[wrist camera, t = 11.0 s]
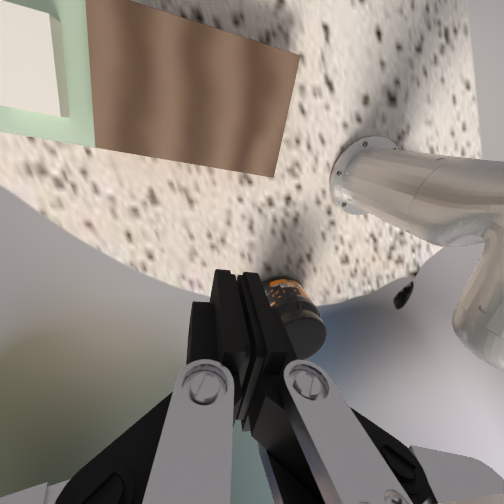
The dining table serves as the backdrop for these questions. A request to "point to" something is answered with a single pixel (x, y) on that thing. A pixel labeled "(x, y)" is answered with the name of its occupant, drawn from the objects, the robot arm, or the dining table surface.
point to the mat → (77, 74)
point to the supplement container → (297, 315)
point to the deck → (186, 89)
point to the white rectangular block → (32, 61)
